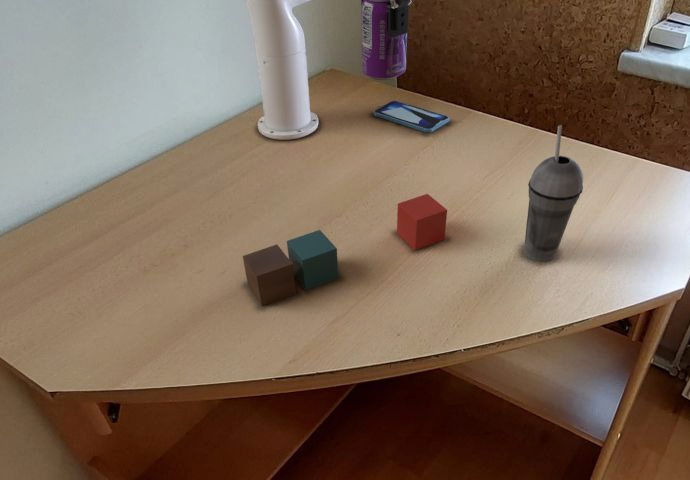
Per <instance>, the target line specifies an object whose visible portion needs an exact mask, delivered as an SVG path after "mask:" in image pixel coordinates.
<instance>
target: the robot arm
mask: <svg viewBox="0 0 690 480" xmlns="http://www.w3.org/2000/svg"><path fill="white" fill-rule="evenodd" d="M311 1H312V2H313V0H245V4H246V7H247V10H248V15H249V19H250V23H251V29H252V34H253V41H254V49H255V55H256V61H257V62H256V64H257V71H258V77H259V85H260V95H261V100H262V101H261V102H262V108H263V109H262V110H263V115H262V116H261V117H260V118H259V119H258V121H257V129H258V131H259V133H260V134H261V135H263V136H264V137H266V138H268V139H272V140H277V141H278V140H280V141H288V140H297V139H300V138H304V137H306V136H308V135H310V134H313V133H314V132H315V131H316V130H317V129H318V128H319V117H318V115H317V114H316V113H315V112H314V111H311V104H310V89H309V77H308V76H309V75H308V63H307V50H306V48H307V47H306V39H305V38H306V37H305V32H304V30H303V27H302V25H301V23H300V22H299V20H298V19H297V18H296V16H295V14H294V13H293V8H295V7H298V6H300V5H303V4H306V3H309V2H311ZM363 1H364V0H360V5H361V6H362V3H363ZM390 2H391V6H392V7H390V8H389V10H388V35H389V36H390V37H395V36H399V35H403V34H406V33H407V34H408V32H409V12H410V6H411V4H412V0H390Z"/></svg>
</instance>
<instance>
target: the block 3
mask: <svg viewBox="0 0 690 480" xmlns="http://www.w3.org/2000/svg"><path fill="white" fill-rule="evenodd" d="M396 214H397V215H396V234H397V235H398V236H399V237H400V238H402V239H403V240H404V241H405V242H406V243H407V244H408V245H409V246H410V247H411V248H412V249H413V250H414V251H418V250H420V249H423V248H425V247H429V246H431V245H434V244H436V243H438V242H442V241H444V240H445V239H446V238H445V236H446V228H447V227H446V226H447V218H448V209H447V208H446V207H444V206H443V205H442V204H441V203H440V202H439V201H437V200H436V199H435V198H433V196H431V195H430V194H429V193H424V194H422V195H418V196H416V197H413V198H410V199H407V200H404V201H402V202H399V203H397V213H396Z"/></svg>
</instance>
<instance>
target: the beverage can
mask: <svg viewBox="0 0 690 480" xmlns="http://www.w3.org/2000/svg"><path fill="white" fill-rule="evenodd" d="M390 7H392V6H391V2H390V0H364V1H363V3H362V6H361V7H360V19H361V20H360V25H361V29H360V30H361V72H362V74H364V75H365V76H366V77H368V78H370V79H372V80H376V81H389V80H393V79H396V78H397V77H399V76H401V75H402V74H404V73H405V72H406V70H407V50H408V49H407V47H408V45H407V44H408V32H407V33H406V34H403V35H399V36H395V37H390V36H389V35H388V10H389V8H390Z"/></svg>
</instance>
